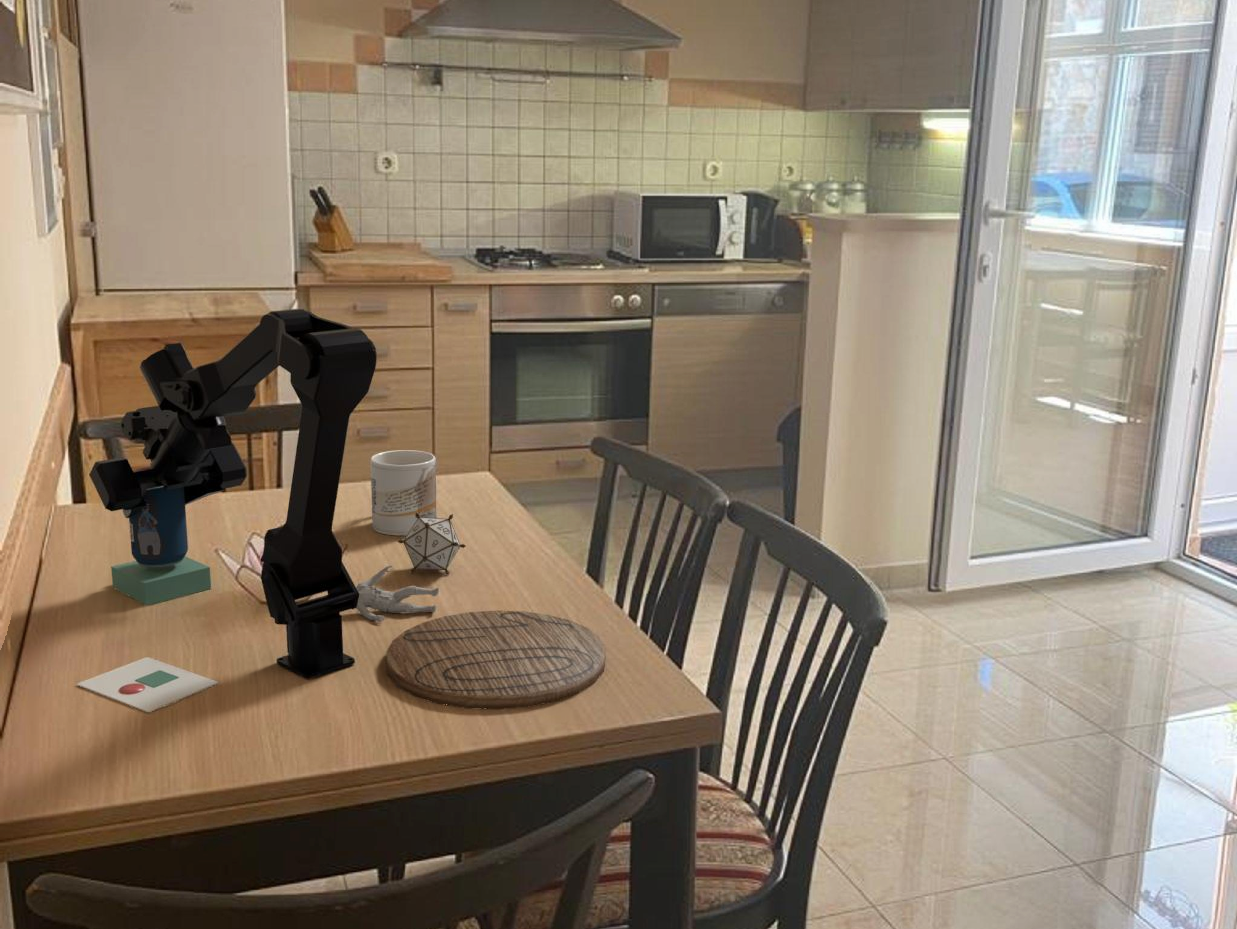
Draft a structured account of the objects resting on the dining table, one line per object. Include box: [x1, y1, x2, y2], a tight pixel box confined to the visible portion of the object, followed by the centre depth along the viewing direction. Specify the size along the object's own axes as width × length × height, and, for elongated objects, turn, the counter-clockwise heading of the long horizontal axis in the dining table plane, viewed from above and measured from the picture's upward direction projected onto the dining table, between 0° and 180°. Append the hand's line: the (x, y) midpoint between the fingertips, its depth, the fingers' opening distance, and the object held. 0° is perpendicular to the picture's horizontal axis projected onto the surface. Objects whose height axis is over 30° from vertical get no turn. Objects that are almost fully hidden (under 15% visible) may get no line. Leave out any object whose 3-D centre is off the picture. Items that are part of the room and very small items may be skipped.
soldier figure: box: [355, 565, 440, 623], centre depth 158 cm, size 8×5×12 cm
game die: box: [397, 513, 467, 576], centre depth 173 cm, size 9×8×10 cm
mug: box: [370, 449, 437, 537], centre depth 194 cm, size 10×12×11 cm
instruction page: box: [76, 656, 220, 713], centre depth 136 cm, size 12×9×1 cm
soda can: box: [128, 466, 189, 567], centre depth 163 cm, size 7×7×12 cm
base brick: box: [111, 555, 212, 606], centre depth 165 cm, size 10×9×3 cm
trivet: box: [386, 610, 607, 710], centre depth 144 cm, size 25×25×2 cm
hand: (151, 509), depth 163 cm, fingers closed on soda can, 7 cm apart
